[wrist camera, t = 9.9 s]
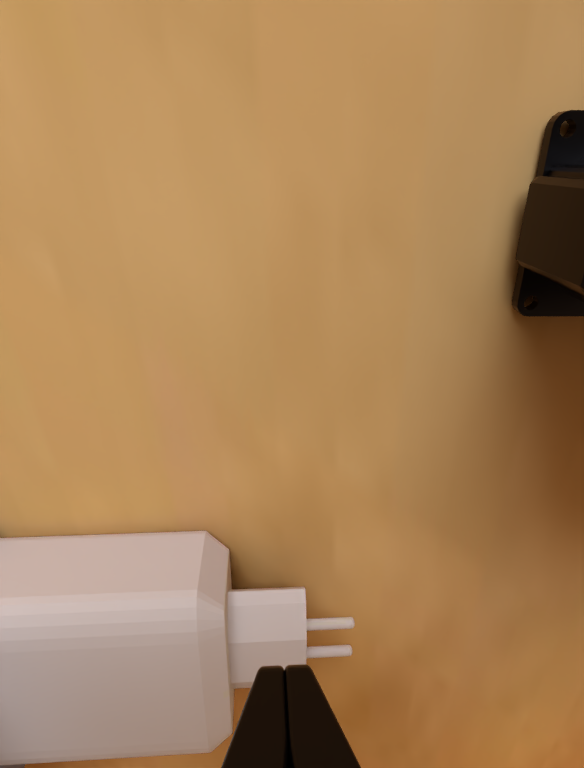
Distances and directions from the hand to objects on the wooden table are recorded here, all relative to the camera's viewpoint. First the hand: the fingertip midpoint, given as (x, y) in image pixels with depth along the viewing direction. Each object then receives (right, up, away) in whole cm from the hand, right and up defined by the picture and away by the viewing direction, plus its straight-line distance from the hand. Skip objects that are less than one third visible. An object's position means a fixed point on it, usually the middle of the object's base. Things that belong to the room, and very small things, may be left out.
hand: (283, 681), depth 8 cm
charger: (-5, -5, +16) cm, 17 cm away
